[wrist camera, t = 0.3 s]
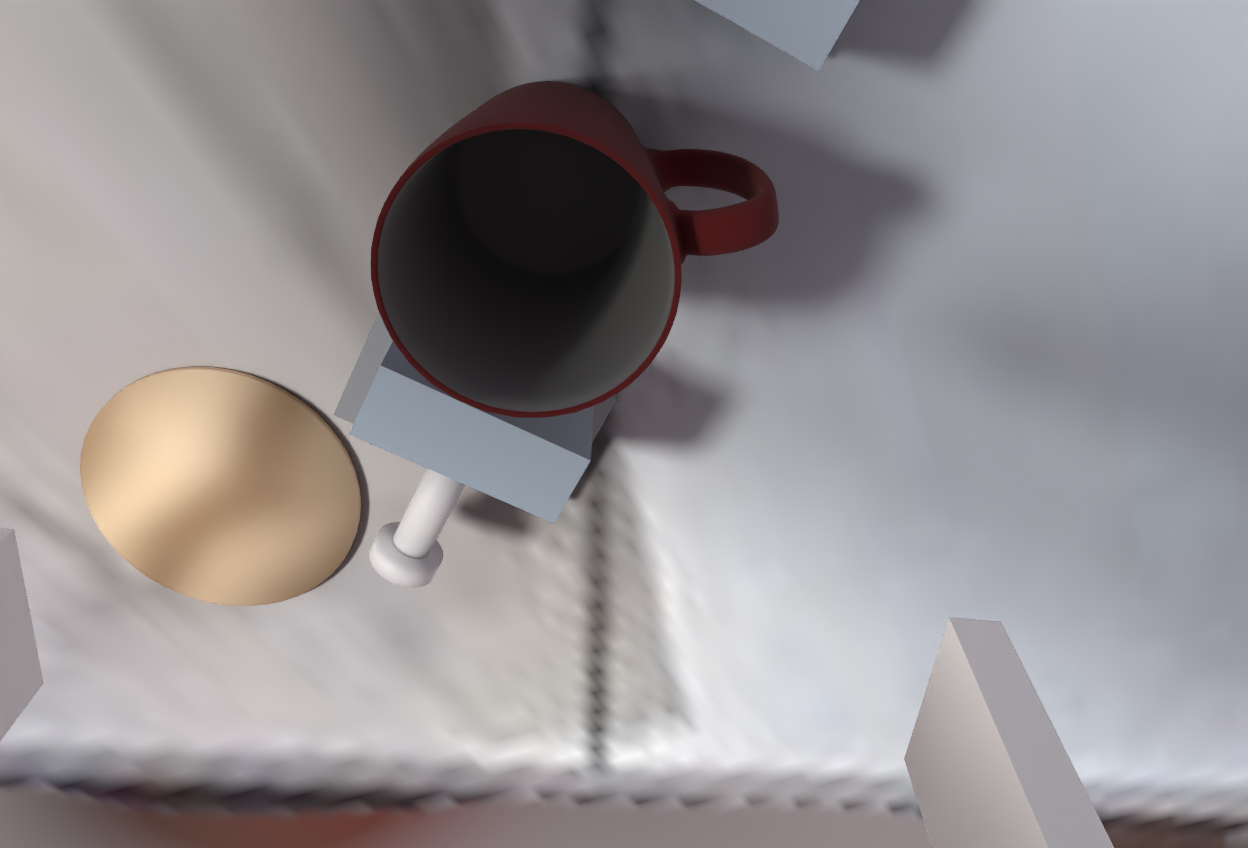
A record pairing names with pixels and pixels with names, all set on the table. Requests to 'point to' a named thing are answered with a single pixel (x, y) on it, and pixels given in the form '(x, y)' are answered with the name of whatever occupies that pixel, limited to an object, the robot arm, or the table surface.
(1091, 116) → the table surface
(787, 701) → the table surface
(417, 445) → the vise
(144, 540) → the coaster
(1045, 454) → the table surface
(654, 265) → the mug
